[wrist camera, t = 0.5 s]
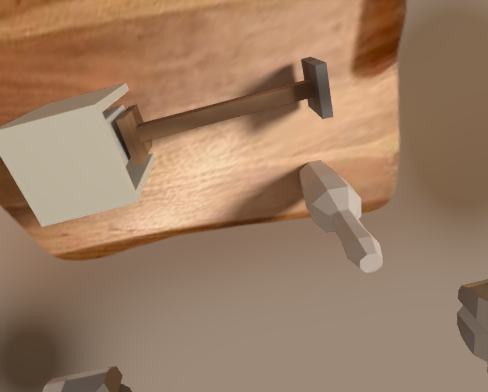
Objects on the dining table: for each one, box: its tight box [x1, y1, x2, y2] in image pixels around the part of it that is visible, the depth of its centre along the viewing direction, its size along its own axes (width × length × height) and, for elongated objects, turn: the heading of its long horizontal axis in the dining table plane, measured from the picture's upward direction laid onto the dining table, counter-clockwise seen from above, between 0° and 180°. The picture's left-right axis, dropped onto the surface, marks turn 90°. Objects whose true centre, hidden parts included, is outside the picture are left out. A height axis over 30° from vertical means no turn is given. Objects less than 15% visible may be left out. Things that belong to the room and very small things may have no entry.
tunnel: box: [0, 83, 155, 227], centre depth 43 cm, size 11×11×14 cm
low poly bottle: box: [299, 160, 383, 273], centre depth 44 cm, size 6×6×22 cm
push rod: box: [116, 57, 333, 166], centre depth 43 cm, size 6×24×7 cm, turn 104°
